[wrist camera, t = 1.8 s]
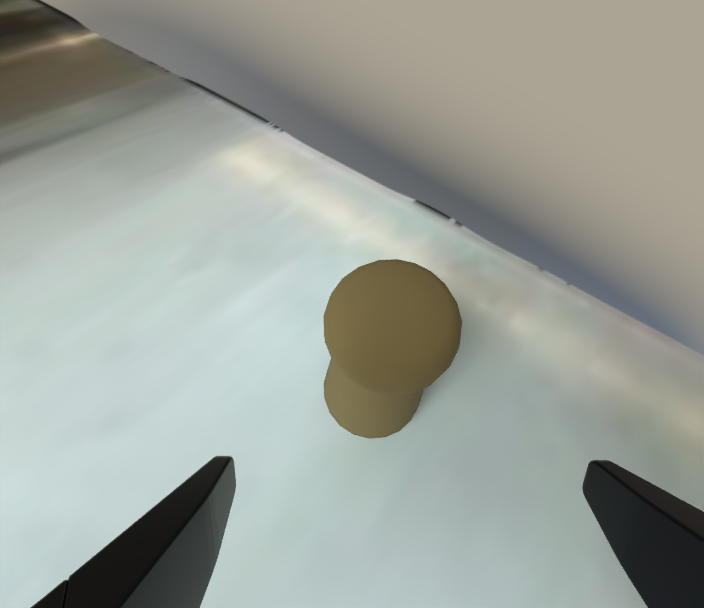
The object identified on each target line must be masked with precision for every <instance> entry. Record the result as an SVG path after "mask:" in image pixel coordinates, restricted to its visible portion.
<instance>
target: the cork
mask: <svg viewBox="0 0 704 608" xmlns="http://www.w3.org/2000/svg"><path fill="white" fill-rule="evenodd" d="M461 325H462V320H461V317H460V313H459V309H458V305H457V302H456V301H455V299H454V297H453V296H452V294H451V293H450V291H449V289H448V288H447V286H446V285H445V283H443V282H442V281H441V280H440V279H439V278H438V277H437V276H436V275H434V274H433V273H432V272H431V271H429V270H427V269H425V268H423V267H421V266H419V265H417V264H415V263H411V262H407V261H402V260H397V259H396V260H378V261H375V262H372V263H369V264H366V265H363V266H361V267H358V268H357V269H355V270H354V271H352V272H351V273H349V274H348V275H347V276H345V277H344V278H343V279H342V280H341V281H340V283H339V284H338V285H337V287H336V288H335V289H334V291H333V292H332V294H331V296H330V298H329V301H328V304H327V307H326V310H325V314H324V337H325V343H326V345H327V348H328V350H329V353H330V355H331V361H330V364H329V367H328V370H327V374H326V377H325V381H324V397H325V401H326V403H327V406H328V409H329V412H330V413H331V415H332V416H333V417H334V418H335V420H336V421H337V422H338V424H339V425H340V426H342V427H343V428H345V429H346V430H348V431H349V432H351V433H352V434H354V435H358V436H362V437H366V438H380V437H387V436H389V435H391V434H393V433H395V432H398V431H400V430H401V429H402V428H403V427H404V426H405V425H406V424H407V423H408V422H409V421H410V420H411V419H412V417H413V415H414V413H415V411H416V409H417V407H418V404H419V401H420V397H421V394H422V391H423V388H424V387H426V386H429V385H431V384H432V383H433V382H434V381H435V380H436V379H437V378H438V377H439V376H440V375H441V374H442V373H444V372H445V371H446V370H447V369H448V368H449V367H450V365H451V363H452V361H453V359H454V357H455V355H456V353H457V351H458V349H459V344H460V336H461Z"/></svg>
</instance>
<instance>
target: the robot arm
mask: <svg viewBox="0 0 704 608" xmlns="http://www.w3.org/2000/svg"><path fill="white" fill-rule="evenodd" d="M235 489H236V478H235V468H234V460H233V458H232V457H231V456H216V457H214V458H213V459H211V460H210V461H209V462H208V463H207V464H205V465H204V466H203V467H202V468H201V469H199V470H198V471H197V472H196V473H194V474H193V475H192V476H191V477H190V478H188V479H187V480H186V481H185V482H183V483H182V484H181V485H180V486H179V487H177V488H176V489H175V490H174V491H173V492H171V493H170V494H169V495H168V496H166V497H165V498H164V499H163V500H162V501H160V502H159V503H158V504H157V505H156V506H154V507H153V508H152V509H151V510H149V511H148V512H147V513H146V514H145V515H143V516H142V517H141V518H140V519H138V520H137V521H136V522H135V523H134V524H132V525H131V526H130V527H129V528H128V529H126V530H125V531H124V532H123V533H121V534H120V535H119V536H118V537H117V538H115V539H114V540H113V541H112V542H110V543H109V544H108V545H107V546H106V547H104V548H103V549H102V550H101V551H100V552H98V553H97V554H96V555H95V556H93V557H92V558H91V559H90V560H89V561H87V562H86V563H85V564H84V565H83V566H81V567H80V568H79V569H78V570H76V571H75V572H74V573H73V574H72V575H70V577H69V579H68V580H64V581H63V582H62V583H60V584H59V585H58V586H57V587H56V588H54V589H53V590H52V591H51V592H49V593H48V594H47V595H46V596H45V597H43V598H42V599H41V600H40V601H38V602H37V603H36V604H35V605H33V606H32V607H31V608H200V605H201V603H202V600H203V597H204V595H205V592H206V589H207V586H208V584H209V581H210V578H211V576H212V573H213V570H214V567H215V564H216V561H217V558H218V554H219V551H220V547H221V543H222V539H223V536H224V532H225V528H226V524H227V521H228V517H229V513H230V509H231V505H232V502H233V498H234V494H235ZM583 493H584V496H585V498H586V500H587V502H588V504H589V506H590V508H591V510H592V512H593V513H594V515H595V517H596V519H597V521H598V523H599V525H600V527H601V529H602V530H603V532H604V534H605V536H606V538H607V540H608V542H609V544H610V546H611V548H612V549H613V551H614V553H615V555H616V557H617V559H618V560H619V562H620V564H621V566H622V567H623V569H624V571H625V572H626V574H627V575H628V577H629V579H630V580H631V582H632V583H633V585H634V587H635V588H636V590H637V591H638V593H639V595H640V596H641V598H642V599H643V601H644V602H645V604H646V606H647V607H648V608H704V512H703V511H701V510H699V509H697V508H696V507H694V506H692V505H690V504H688V503H686V502H684V501H683V500H681V499H679V498H677V497H675V496H673V495H672V494H670V493H668V492H666V491H664V490H662V489H661V488H659V487H657V486H655V485H653V484H651V483H650V482H648V481H646V480H644V479H642V478H640V477H638V476H637V475H635V474H633V473H631V472H629V471H627V470H626V469H624V468H622V467H620V466H618V465H616V464H615V463H613V462H611V461H607V460H593V461H591V462H590V463H589V464H588V468H587V471H586V475H585V478H584V482H583Z"/></svg>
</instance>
